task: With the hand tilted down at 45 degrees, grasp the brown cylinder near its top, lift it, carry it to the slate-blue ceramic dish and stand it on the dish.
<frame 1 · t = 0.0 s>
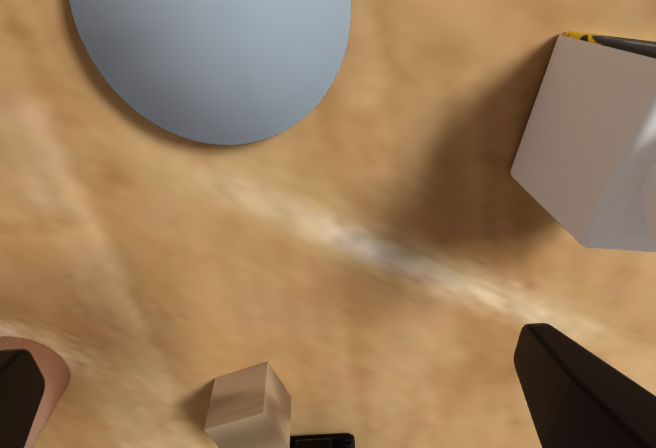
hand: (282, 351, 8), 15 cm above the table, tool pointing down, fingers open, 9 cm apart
medicine bottle: (594, 114, 21), on the table
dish: (218, 11, 18), on the table
short mauve cylinder: (22, 368, 28), on the table
oak block: (254, 386, 30), on the table
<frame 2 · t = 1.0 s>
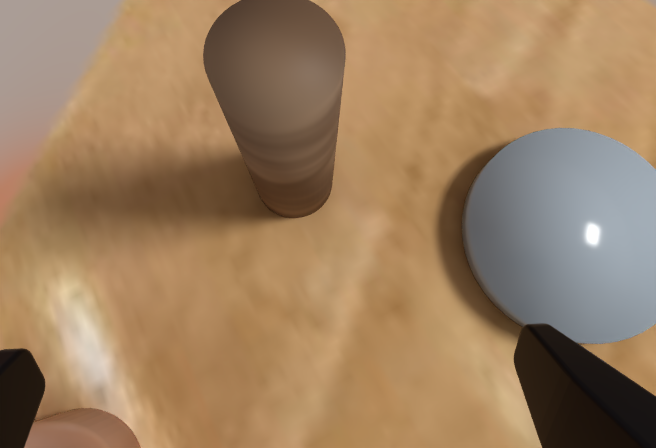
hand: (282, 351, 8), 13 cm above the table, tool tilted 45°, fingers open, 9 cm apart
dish: (565, 234, 22), on the table
brown cylinder: (294, 181, 23), on the table
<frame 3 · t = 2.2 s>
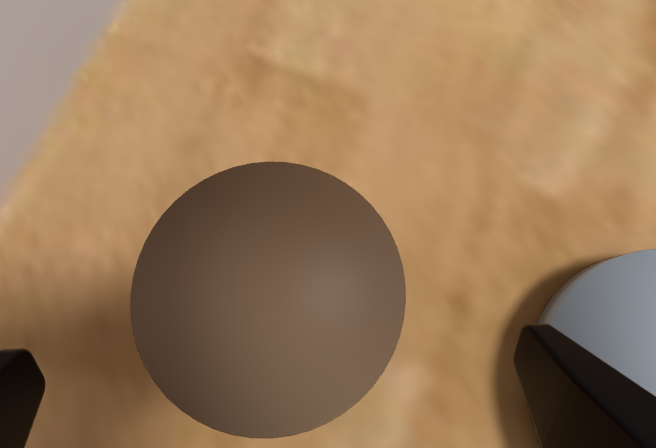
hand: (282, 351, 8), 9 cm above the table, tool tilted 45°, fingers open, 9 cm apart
brown cylinder: (299, 318, 17), on the table
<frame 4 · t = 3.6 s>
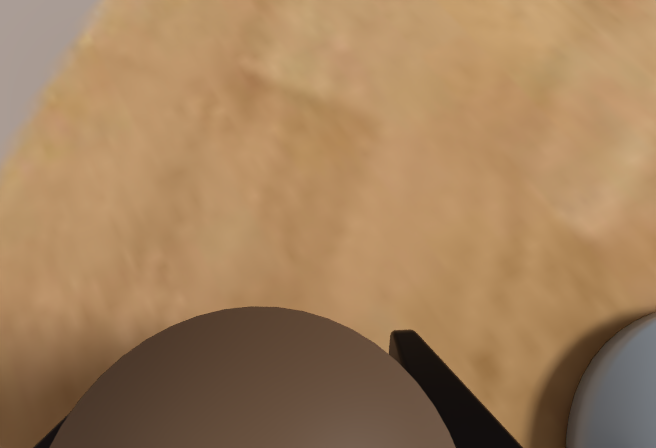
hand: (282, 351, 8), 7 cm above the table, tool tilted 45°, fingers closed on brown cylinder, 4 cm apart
brown cylinder: (299, 384, 14), on the table, touching gripper
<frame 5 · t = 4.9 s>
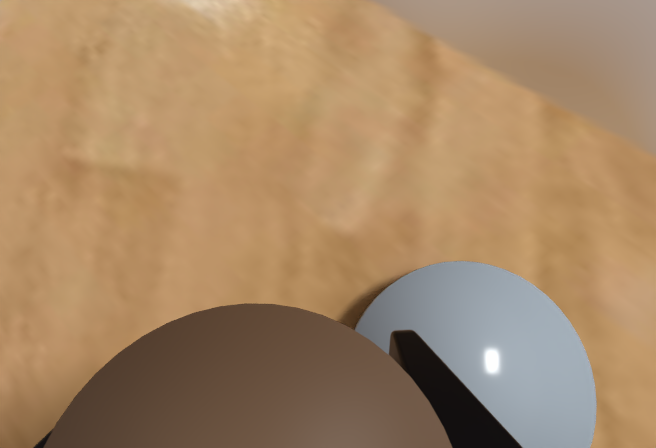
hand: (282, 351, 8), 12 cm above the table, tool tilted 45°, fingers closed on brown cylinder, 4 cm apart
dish: (461, 383, 20), on the table
brown cylinder: (298, 383, 14), point 5 cm above the table, touching gripper
when the fingers open (9 cm above the table, at t = 6.4 s): brown cylinder stays where it is, resting on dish.
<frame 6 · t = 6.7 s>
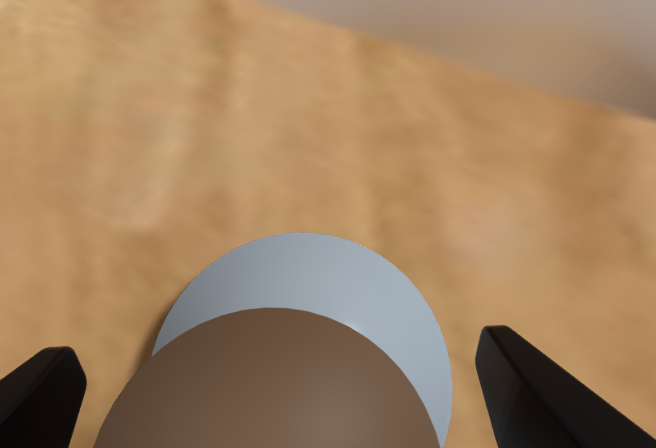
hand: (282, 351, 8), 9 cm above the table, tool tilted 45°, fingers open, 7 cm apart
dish: (302, 377, 16), on the table
brown cylinder: (301, 381, 15), point 1 cm above the table, touching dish
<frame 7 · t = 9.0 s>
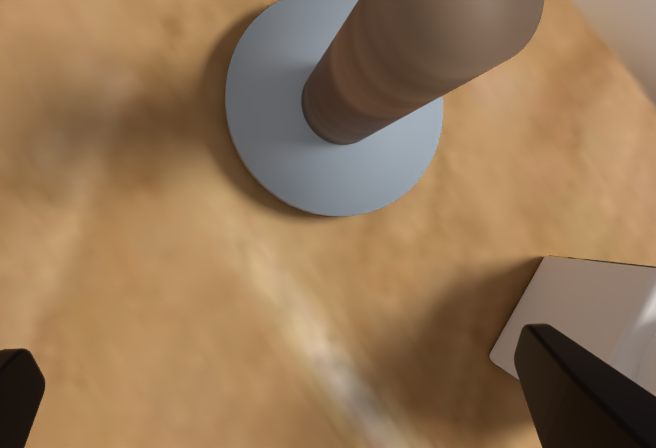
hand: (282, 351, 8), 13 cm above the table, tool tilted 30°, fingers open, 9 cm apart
medicine bottle: (553, 333, 26), on the table
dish: (334, 109, 22), on the table
brown cylinder: (341, 103, 21), point 1 cm above the table, touching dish
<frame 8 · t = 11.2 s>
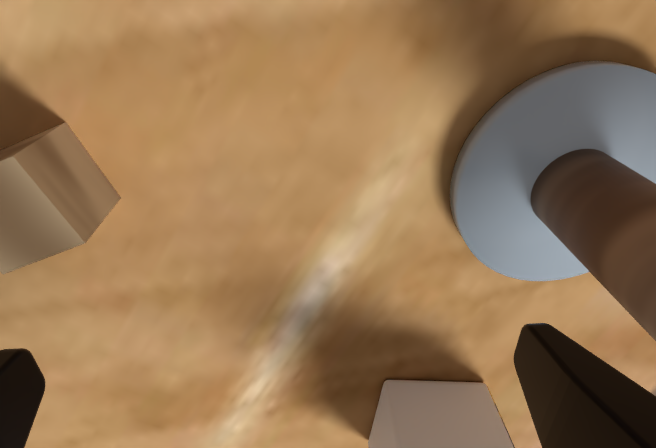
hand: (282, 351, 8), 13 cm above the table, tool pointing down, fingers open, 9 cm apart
medicine bottle: (423, 409, 30), on the table
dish: (560, 177, 21), on the table
brown cylinder: (573, 188, 20), point 1 cm above the table, touching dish
oak block: (58, 176, 20), on the table
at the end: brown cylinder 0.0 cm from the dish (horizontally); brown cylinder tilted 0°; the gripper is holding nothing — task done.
